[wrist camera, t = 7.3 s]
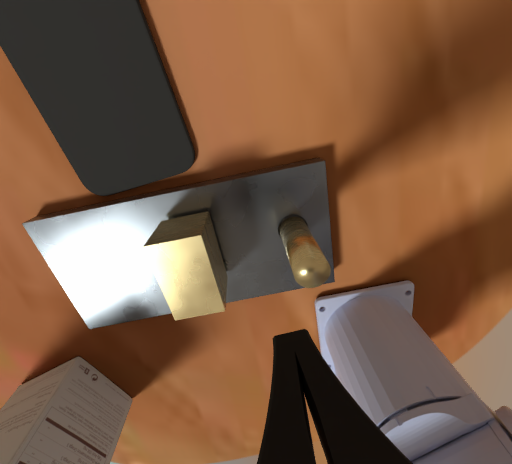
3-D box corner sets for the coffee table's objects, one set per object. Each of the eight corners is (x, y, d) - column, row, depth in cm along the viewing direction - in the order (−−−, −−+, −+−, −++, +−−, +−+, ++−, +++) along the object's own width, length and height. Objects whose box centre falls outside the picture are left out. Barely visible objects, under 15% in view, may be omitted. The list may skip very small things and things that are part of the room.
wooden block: (227, 276, 18) (225, 311, 15) (186, 285, 18) (175, 320, 15) (208, 211, 16) (201, 235, 13) (161, 220, 16) (142, 246, 13)
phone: (91, 201, 17) (-117, -147, 10) (97, 197, 17) (-93, -130, 11) (200, 167, 16) (54, -222, 10) (202, 164, 17) (67, -198, 10)
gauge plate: (329, 272, 20) (364, 336, 15) (97, 317, 21) (43, 396, 15) (319, 157, 17) (362, 182, 11) (35, 216, 17) (-68, 270, 11)
